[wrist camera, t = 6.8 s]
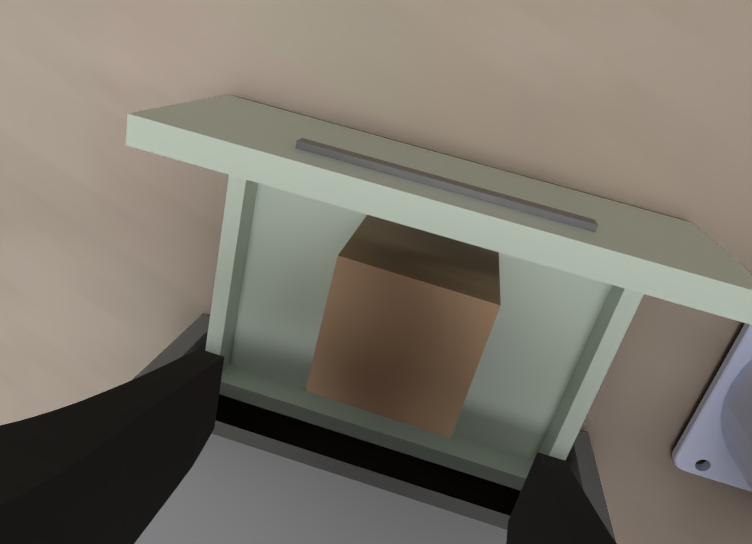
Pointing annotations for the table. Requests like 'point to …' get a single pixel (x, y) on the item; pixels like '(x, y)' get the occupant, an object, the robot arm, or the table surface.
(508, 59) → the table surface
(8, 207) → the table surface
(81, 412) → the robot arm
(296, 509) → the grey drawer box
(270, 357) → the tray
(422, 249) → the walnut block
